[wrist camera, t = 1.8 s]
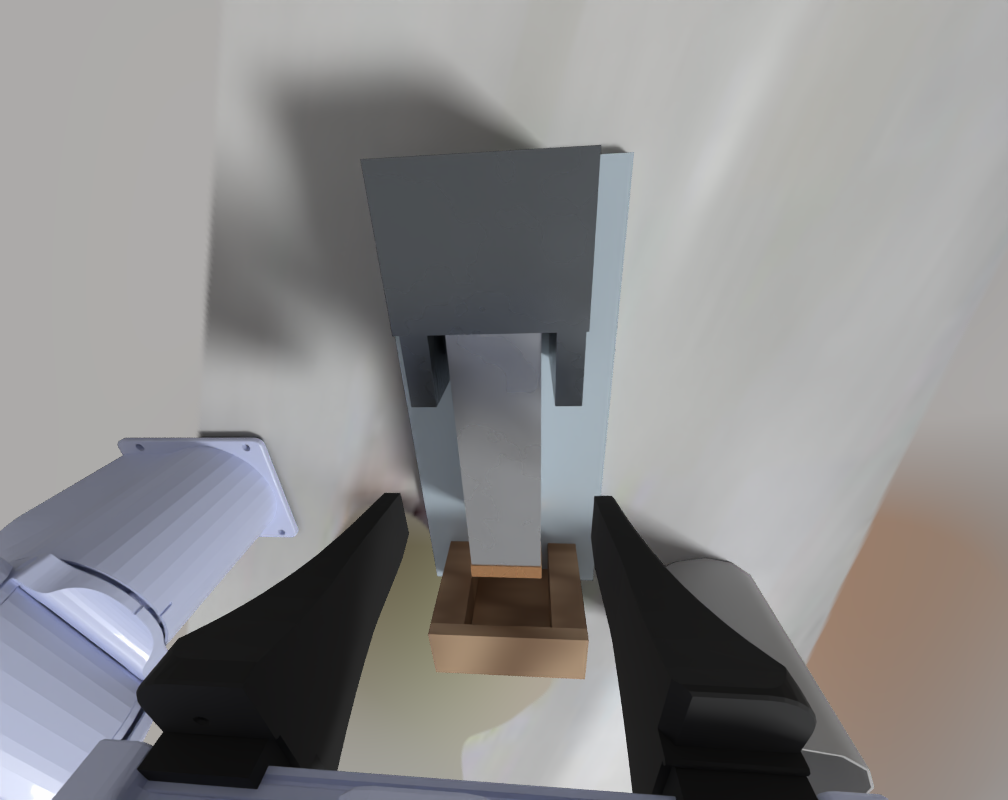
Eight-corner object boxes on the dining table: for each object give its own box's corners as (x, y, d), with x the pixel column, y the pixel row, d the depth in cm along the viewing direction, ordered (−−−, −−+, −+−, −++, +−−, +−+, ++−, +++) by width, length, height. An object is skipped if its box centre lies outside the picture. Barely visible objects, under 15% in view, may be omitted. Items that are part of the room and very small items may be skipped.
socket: (456, 576, 26) (436, 672, 21) (450, 541, 25) (428, 634, 19) (573, 579, 26) (584, 679, 20) (575, 543, 24) (588, 640, 19)
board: (439, 568, 27) (437, 575, 27) (370, 169, 16) (364, 167, 15) (591, 572, 26) (592, 580, 26) (630, 154, 15) (633, 152, 15)
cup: (642, 556, 25) (704, 742, 16) (769, 559, 25) (905, 754, 16) (629, 632, 29) (673, 817, 20) (739, 636, 28) (834, 829, 19)
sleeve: (441, 358, 19) (406, 415, 14) (419, 178, 15) (360, 159, 10) (568, 356, 19) (584, 413, 13) (575, 170, 15) (601, 145, 10)
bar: (482, 511, 23) (471, 576, 19) (456, 217, 16) (429, 217, 12) (539, 512, 23) (541, 578, 19) (540, 213, 16) (543, 212, 11)
